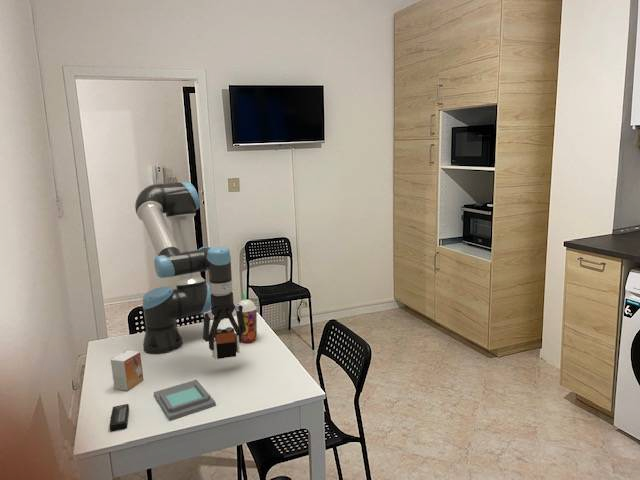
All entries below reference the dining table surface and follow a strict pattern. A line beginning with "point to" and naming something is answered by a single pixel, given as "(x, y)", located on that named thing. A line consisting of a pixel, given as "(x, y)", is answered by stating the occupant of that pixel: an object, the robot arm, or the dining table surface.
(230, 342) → the battery
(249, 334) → the smoothie
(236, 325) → the robot arm
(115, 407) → the multiport hub
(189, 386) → the dock
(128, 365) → the small box
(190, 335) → the dining table surface
